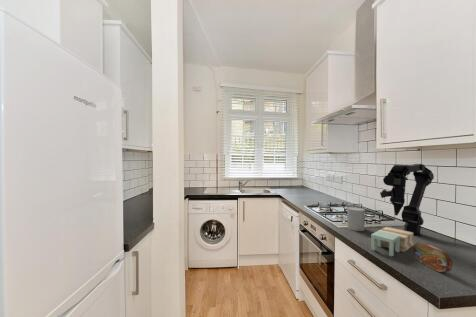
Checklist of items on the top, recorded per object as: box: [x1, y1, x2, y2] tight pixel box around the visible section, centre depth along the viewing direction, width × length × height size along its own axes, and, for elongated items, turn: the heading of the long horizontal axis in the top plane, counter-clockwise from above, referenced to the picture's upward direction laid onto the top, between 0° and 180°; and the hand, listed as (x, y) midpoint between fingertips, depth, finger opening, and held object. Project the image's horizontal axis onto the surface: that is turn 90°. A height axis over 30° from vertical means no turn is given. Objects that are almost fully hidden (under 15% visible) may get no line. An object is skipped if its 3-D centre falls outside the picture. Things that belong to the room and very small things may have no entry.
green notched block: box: [370, 230, 401, 257], centre depth 107 cm, size 8×9×9 cm
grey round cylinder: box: [346, 206, 366, 232], centre depth 141 cm, size 10×10×12 cm
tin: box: [412, 242, 453, 273], centre depth 92 cm, size 15×3×8 cm, turn 4°
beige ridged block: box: [375, 226, 414, 253], centre depth 115 cm, size 14×12×6 cm
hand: (396, 215), depth 125 cm, fingers closed
